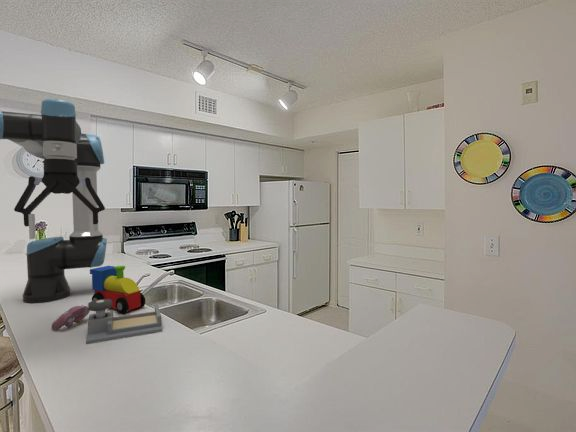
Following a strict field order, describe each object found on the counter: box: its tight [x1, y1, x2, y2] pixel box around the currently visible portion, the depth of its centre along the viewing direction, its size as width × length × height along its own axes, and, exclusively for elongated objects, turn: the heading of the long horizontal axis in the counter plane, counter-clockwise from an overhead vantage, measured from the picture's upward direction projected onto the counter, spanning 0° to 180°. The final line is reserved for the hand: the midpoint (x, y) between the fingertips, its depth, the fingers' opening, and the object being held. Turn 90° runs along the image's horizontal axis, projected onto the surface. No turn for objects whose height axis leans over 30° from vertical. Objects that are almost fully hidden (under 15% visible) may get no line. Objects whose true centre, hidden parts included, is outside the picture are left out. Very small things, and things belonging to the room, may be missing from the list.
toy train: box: [89, 265, 146, 315], centre depth 117 cm, size 9×20×15 cm, turn 64°
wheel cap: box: [87, 299, 112, 318], centre depth 96 cm, size 6×6×6 cm
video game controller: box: [51, 304, 91, 331], centre depth 101 cm, size 10×5×7 cm, turn 169°
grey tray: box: [85, 304, 163, 345], centre depth 99 cm, size 16×19×4 cm
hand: (63, 237), depth 90 cm, fingers open, 13 cm apart
